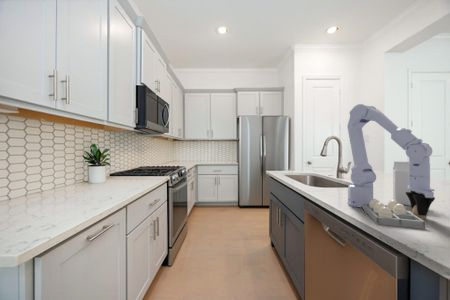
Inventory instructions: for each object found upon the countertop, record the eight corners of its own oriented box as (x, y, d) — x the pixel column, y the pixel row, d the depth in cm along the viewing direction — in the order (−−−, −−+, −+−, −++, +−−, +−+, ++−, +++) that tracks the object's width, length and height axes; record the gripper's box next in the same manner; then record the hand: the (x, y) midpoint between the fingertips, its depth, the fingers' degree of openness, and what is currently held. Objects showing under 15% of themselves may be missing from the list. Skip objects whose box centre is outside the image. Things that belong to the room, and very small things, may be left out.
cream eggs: (380, 221, 73) (380, 207, 73) (368, 209, 88) (368, 197, 88) (417, 225, 70) (417, 210, 70) (397, 211, 85) (397, 199, 84)
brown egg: (415, 218, 77) (415, 205, 77) (410, 215, 81) (410, 202, 81) (428, 219, 76) (428, 206, 76) (423, 216, 80) (423, 203, 80)
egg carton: (376, 223, 72) (376, 217, 72) (362, 208, 90) (362, 203, 90) (425, 228, 68) (425, 221, 68) (400, 211, 85) (400, 206, 85)
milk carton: (416, 206, 93) (415, 162, 93) (395, 204, 97) (395, 161, 97) (412, 202, 99) (412, 161, 99) (393, 200, 103) (393, 161, 103)
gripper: (445, 179, 70) (445, 220, 70) (423, 174, 84) (423, 209, 84) (418, 178, 73) (418, 218, 73) (400, 173, 86) (401, 207, 86)
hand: (419, 213), depth 79 cm, fingers closed on brown egg, 4 cm apart
